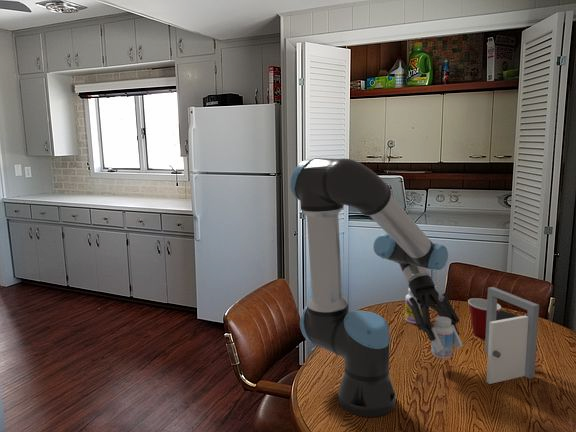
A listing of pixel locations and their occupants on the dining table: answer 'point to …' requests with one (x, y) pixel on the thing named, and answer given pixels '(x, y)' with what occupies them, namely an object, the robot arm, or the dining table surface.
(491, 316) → the door frame
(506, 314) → the phone
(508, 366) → the door
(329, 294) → the robot arm
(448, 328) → the pill bottle
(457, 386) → the dining table surface
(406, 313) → the supplement bottle
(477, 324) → the plastic cup
